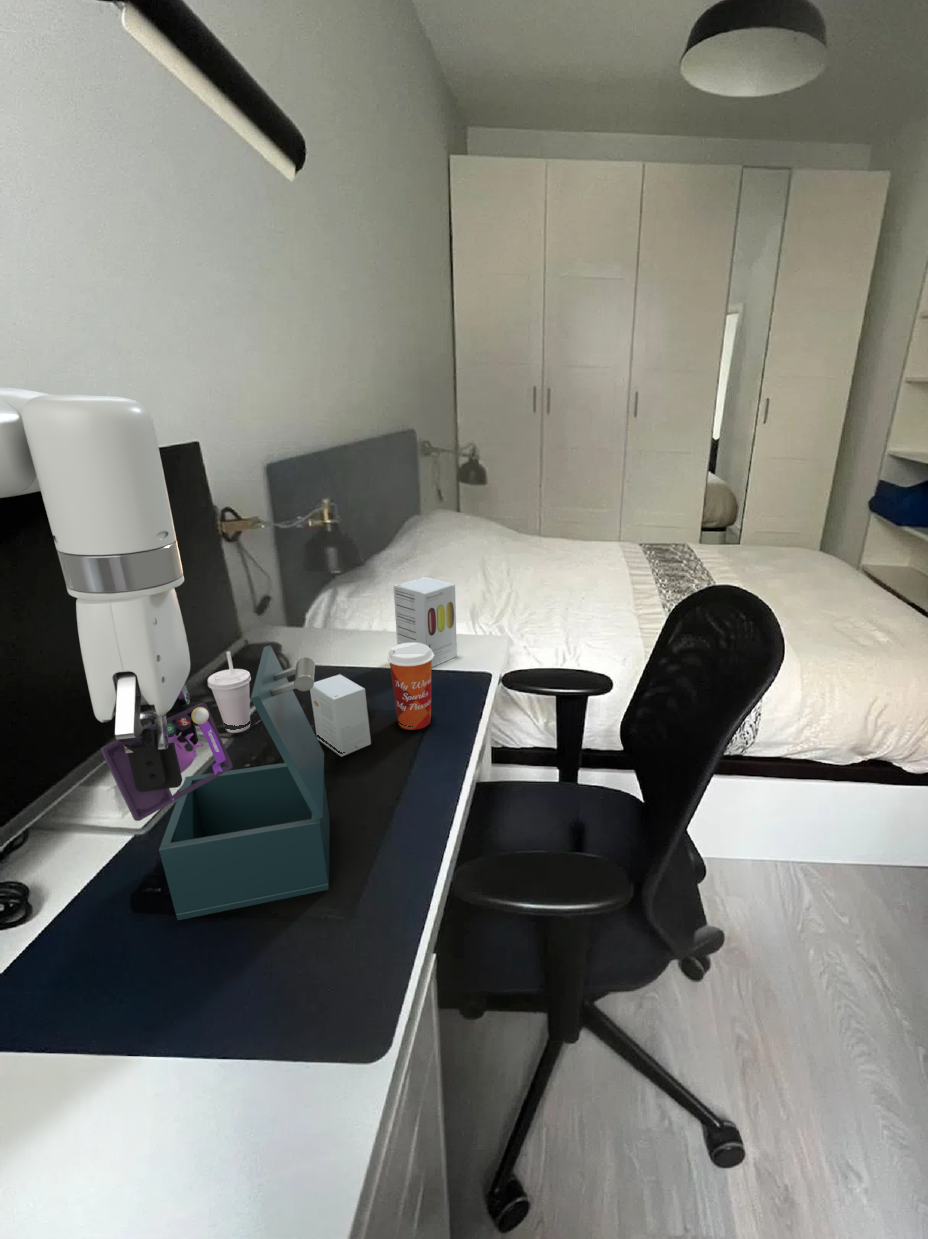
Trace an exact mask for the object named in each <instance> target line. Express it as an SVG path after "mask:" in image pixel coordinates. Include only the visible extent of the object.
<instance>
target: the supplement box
mask: <svg viewBox="0 0 928 1239" xmlns="http://www.w3.org/2000/svg"><path fill="white" fill-rule="evenodd" d="M393 599H394V613H395V615H394V616H395V629H396V630H395V631H396V645H399V644H403V643H422V644H425V645H427V646H428V647H429V648H430V649H431V650H432V652H433V653H434V657H433V659H432V668H434V667H436V666H439V665H441V664H443V663H445V662H447V661H449V660H451V659H454V658H456V657H457V656H458V650H457V648H458V646H457V644H458V642H457V603H456V584H454V583H452V582H449V581H448V582H447V581H444V580H441V579H436V578H432V577H427V576H422V577H419V578H417V579H414V580H413V579H412V580H409V581H406V582H402V583H399V584H394V585H393Z"/></svg>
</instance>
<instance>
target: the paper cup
mask: <svg viewBox="0 0 928 1239" xmlns="http://www.w3.org/2000/svg"><path fill="white" fill-rule="evenodd" d="M433 657H434V653H433V652H432V650H431V649H430V648H429V647H428V646H427V645H425V644H422V643H403V644H399V645H397V644H396V645H394V646H392V647H391V648H390V650H389V653H388V655H387V658H386V659H387V661H388V663H389V668H390V673H391V681H392V688H393V697H394V703H395V710H396V718H397V722H398V721H399V722H400V723H401V724H403V725H401V724H400V723H399V722H398V725H399V727H400V728H402V729H405V730H412V731H413V730H421V729H424V728H426V727H428V726H429V725H430V724H431V720H432V719H431V718H432V677H433V676H432V672H433V671H432V670H433V667H432V659H433ZM404 725H406V726H404ZM408 726H411V727H408ZM412 726H413V727H412Z"/></svg>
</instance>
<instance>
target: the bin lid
mask: <svg viewBox="0 0 928 1239" xmlns="http://www.w3.org/2000/svg"><path fill="white" fill-rule="evenodd" d="M315 670H316V663H315V661H314V660H313V659H312V658H309V657H302V658H300V659H299V660H298V661H296V664H295V666H293V667H290V668H287V669H285V670H283V667H282V666H281V663H280V662H279V659H278V657H277V655H276V653H275V651H274V649H273V647H272V645H271V644H270V645H267V646H264V647H263V649H262V653H261V657H260V661H259V664H258V669H257V673H256V675H255V681H254V683H253V688H252V692H251V696H250V701H251V702H252V704H253V706H254V708H255V710H256V711H257V714H258V715H259V717H260V719H261V722H262V723H263V725H264V726H265V728H266V730H267V732H268V734H269V736H270V738H271V739H272V741H273V743H274V746H275V747H276V750H277V751H278V752H279V755H280V756H281V758H282V760H283V763H285V764H286V766H287V768H288V769H289V771H290V773H291V775H292V777H293V779H294V781H295V783H296V784H297V786H298V788H299V790H300V792H301V794H302V796H303V797H304V799H305V801H306V803H307V805H308V807H309V809H310V811H311V812H312V814H313V816H314V818H315V820H317V819H320V818H322V817H323V779H325V772H324V771H325V752H324V750H323V748H322V746H321V744H320V741H319V740H318V739H317V735H316V734H315V732H314V730H313V728H312V726H311V724H310V722H309V720H308V718H307V715H306V713H305V712H304V710H303V708H302V706H301V703H300V701H299V700H298V697H297V695H296V694H295V691H294V690H295V689H296V690H298V691H300V692H309V691H310V689H311V688H312V687H313V685H314V682H315ZM292 676H294V679H293V681H289V679H288V678H289V677H292Z"/></svg>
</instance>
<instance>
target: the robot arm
mask: <svg viewBox="0 0 928 1239" xmlns="http://www.w3.org/2000/svg"><path fill="white" fill-rule="evenodd" d="M155 428H156V427H155V424H154V420H153V418H152V415H151V413H150V411H149V410H148V409H147V407H146V406H144V405H143V404H142V403H140V402H139V401H138V400H136V399H135V400H134V399H132V398H128V397H123V396H122V397H121V396H113V395H92V394H91V395H90V394H51V393H46V392H40V391H36V390H31V389H24V388H18V387H9V386H0V499H3V498H10V497H16V496H22V495H27V494H33V493H37V492H40V493H41V496H42V497H41V498H42V501H43V504H44V508H45V511H46V515H47V518H48V523H49V527H50V531H51V533H52V538H53V541H54V545H55V549H56V552H57V556H58V560H59V563H60V567H61V571H62V574H63V579H64V582H65V586H66V591H67V594H68V595H69V596H71V597H73V598H76V601H75V609H76V610H75V612H76V622H77V633H78V639H79V646H80V654H81V659H82V663H83V669H84V673H85V679H86V682H87V687H88V692H89V693H88V694H89V697H90V702H91V706H92V710H93V715H94V716H95V719H96V720H97V721H99V722H100V723H108V722H109V721H112V720H113V718H114V717H115V718H114V719H115V720H114V721H115V722H114V737H115V739H116V741H120V742H122V743H123V744H124V748H125V752H126V754H128V757H129V761H130V765H131V769H132V773H133V777H134V781H135V785H136V789H137V790H138V791H140V792H146V791H153V790H161V789H168V788H169V789H174V788H175V789H176V788H180V786H182V784H183V776H182V773H181V771H180V767H179V762H178V758H177V753H176V749H175V744H174V743H169V739H168V729H167V718H169V717H171V716H173V715H176V714H178V713H180V712H182V711H185V710H187V709H189V708H191V707H192V705H190V694H189V690H188V688H187V685H186V681H187V679H188V677H189V675H190V671H191V656H190V649H189V643H188V642H189V641H188V638H187V637H188V636H187V633H186V629H185V624H184V620H183V616H182V615H183V614H182V612H181V608H180V603H179V600H178V594H177V592H176V588H178V587H180V586H181V585H182V584H183V583H184V582H185V577H184V571H183V565H182V561H181V555H180V550H179V547H178V540H177V536H176V531H175V525H174V519H173V515H172V509H171V503H170V500H169V499H170V498H169V494H168V488H167V483H166V478H165V473H164V467H163V463H162V458H161V454H160V447H159V442H158V438H157V433H156V429H155ZM146 705H149V706H151V707H152V708H153V709H150V710H143V711H142V709H141V707H142V706H146ZM191 714H192V712H191V713H189V714H187V715H188V716H189V717H190V718H191ZM141 721H150V723H151V725H153V724H155V729H154V730H151V729H145V727H144V726H143V724H142V722H141ZM171 722H173V723H174V724H175V720H173V721H171ZM181 732H182V733H181ZM179 733H181V736H184V737H186V736H187V735H188V734H192V733H193V735H192V737H191V738H190V739H189V740H190V741H191V742H192V743H193V745H196V744H198V742H199V737H198V733H197V728H196V723H194V722H193V720H191V727H190V728H188V729H186V730H183V731H181V730H180V729H178V728H177V727H176V736H178V735H179ZM173 736H174V735H173ZM173 736H171V737H173Z"/></svg>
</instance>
